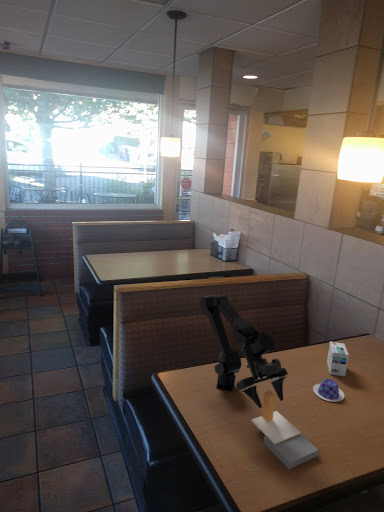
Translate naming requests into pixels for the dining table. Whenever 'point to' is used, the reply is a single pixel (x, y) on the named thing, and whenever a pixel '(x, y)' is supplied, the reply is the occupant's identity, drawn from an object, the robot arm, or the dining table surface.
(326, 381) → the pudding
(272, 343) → the robot arm
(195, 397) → the dining table surface
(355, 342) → the dining table surface
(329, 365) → the light bulb box
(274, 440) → the lid
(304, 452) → the gray carton
